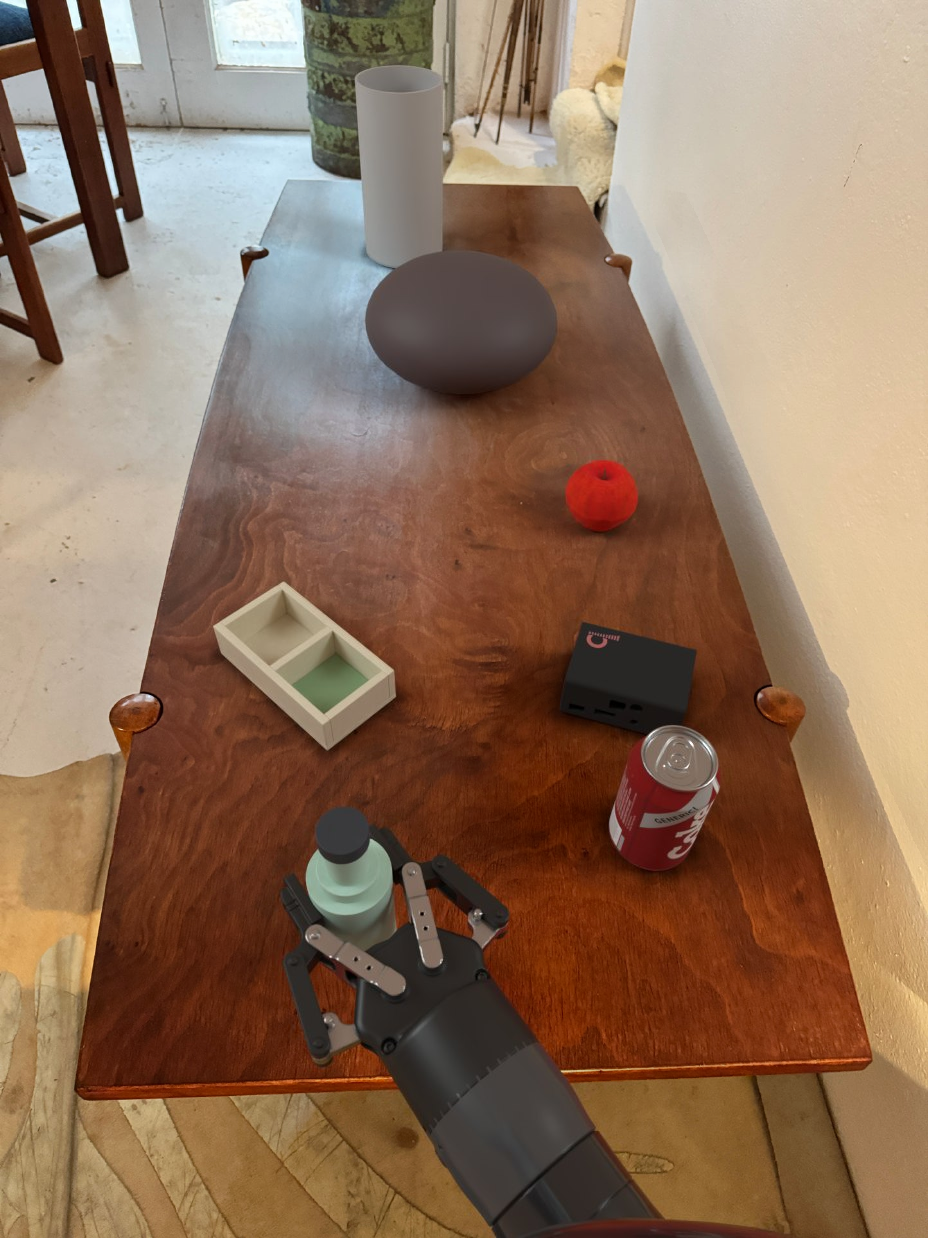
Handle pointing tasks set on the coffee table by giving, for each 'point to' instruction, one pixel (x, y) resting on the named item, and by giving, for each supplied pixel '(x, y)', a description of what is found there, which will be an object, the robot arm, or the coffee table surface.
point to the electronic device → (627, 679)
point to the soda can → (664, 797)
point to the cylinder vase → (401, 161)
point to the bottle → (351, 880)
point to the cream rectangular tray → (306, 663)
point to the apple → (601, 495)
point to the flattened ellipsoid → (461, 322)
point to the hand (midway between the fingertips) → (330, 856)
